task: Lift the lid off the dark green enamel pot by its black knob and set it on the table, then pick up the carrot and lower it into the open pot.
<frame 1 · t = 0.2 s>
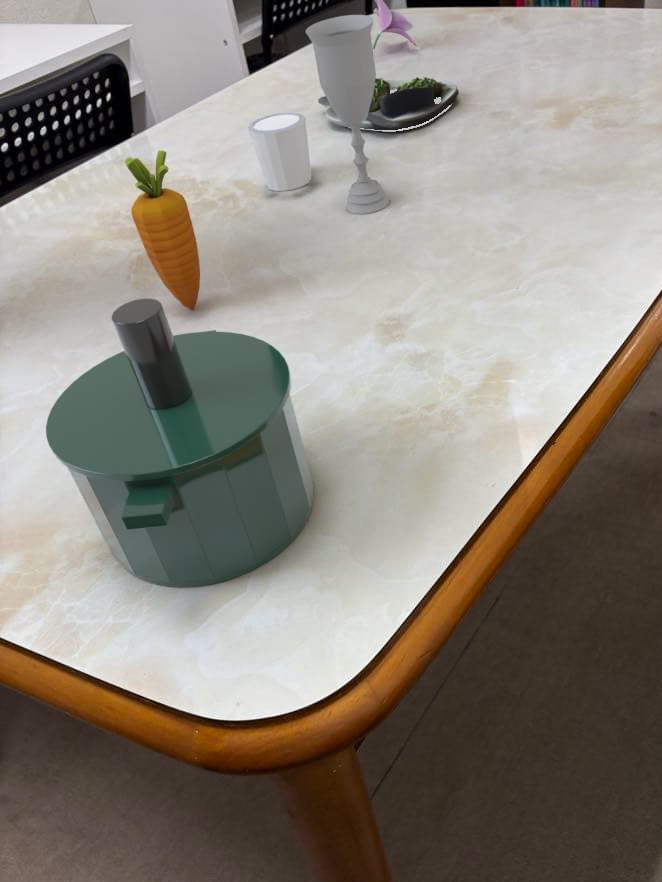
lily: (394, 53, 141), on the table
lid: (171, 402, 55), point 9 cm above the table, touching pot
carrot: (192, 310, 84), on the table
salad plate: (394, 115, 119), on the table
shot glass: (289, 183, 105), on the table
chalice: (367, 205, 97), on the table
pot: (212, 512, 61), on the table
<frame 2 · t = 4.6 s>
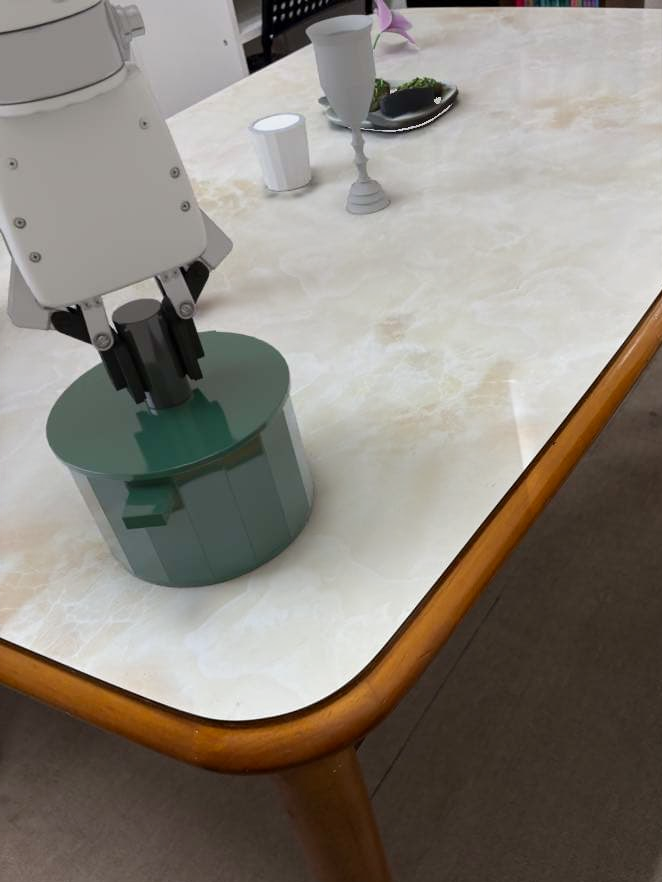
hand: (162, 379, 53), 11 cm above the table, tool pointing down, fingers closed on lid, 3 cm apart
lid: (171, 402, 55), point 10 cm above the table, touching gripper, pot
everything else where it was.
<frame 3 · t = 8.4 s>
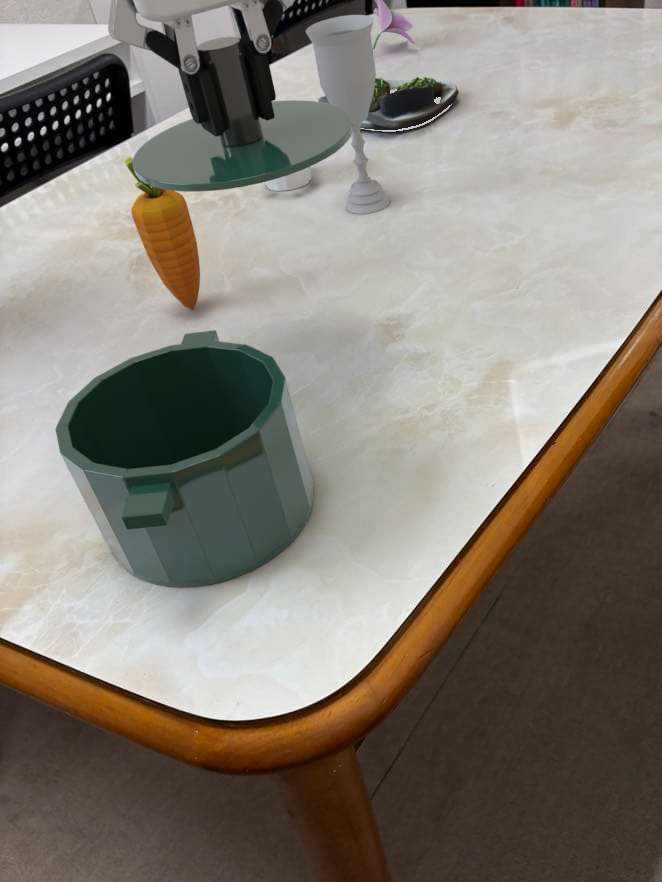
hand: (237, 120, 59), 20 cm above the table, tool pointing down, fingers closed on lid, 3 cm apart
lid: (243, 146, 60), point 19 cm above the table, touching gripper
everything else where it was.
when the fingers open (2 cm above the table, at t = 12.4 s): lid stays where it is, point 1 cm above the table.
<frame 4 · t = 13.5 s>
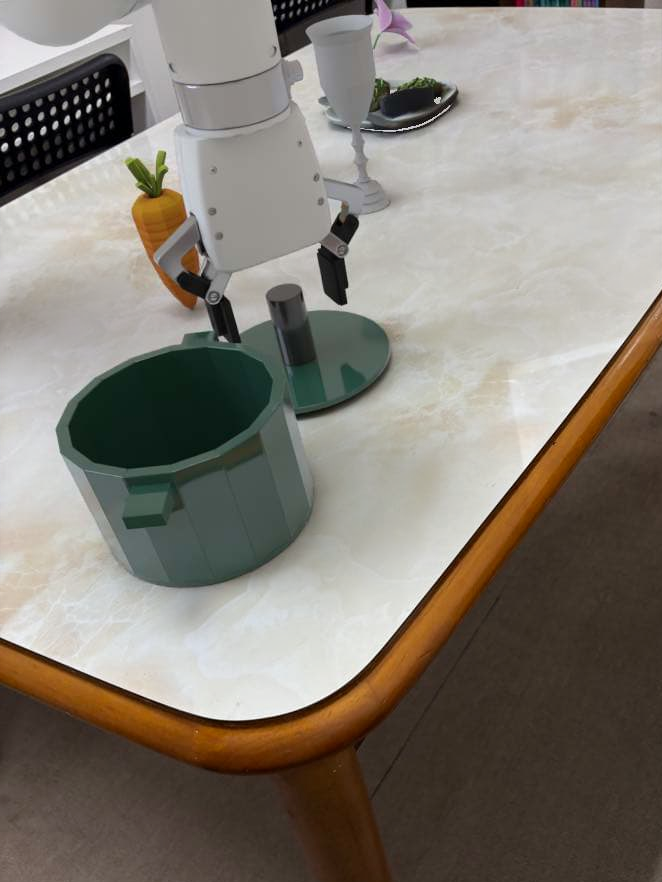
hand: (284, 319, 71), 5 cm above the table, tool pointing down, fingers open, 9 cm apart
lid: (300, 361, 73), point 1 cm above the table
everything else where it was.
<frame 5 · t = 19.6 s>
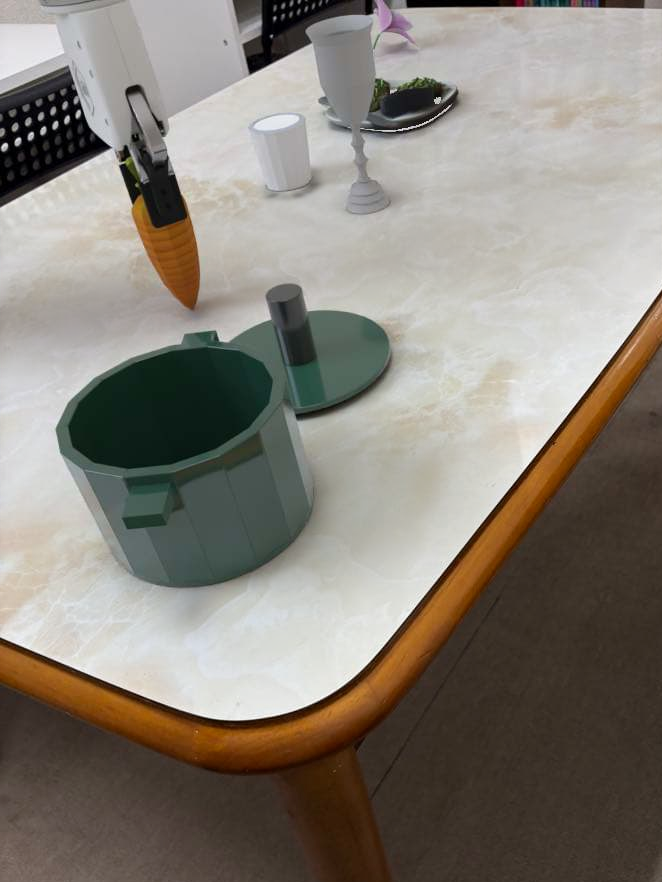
hand: (159, 211, 77), 10 cm above the table, tool pointing down, fingers closed on carrot, 4 cm apart
carrot: (192, 310, 84), on the table, touching gripper
everything else where it was.
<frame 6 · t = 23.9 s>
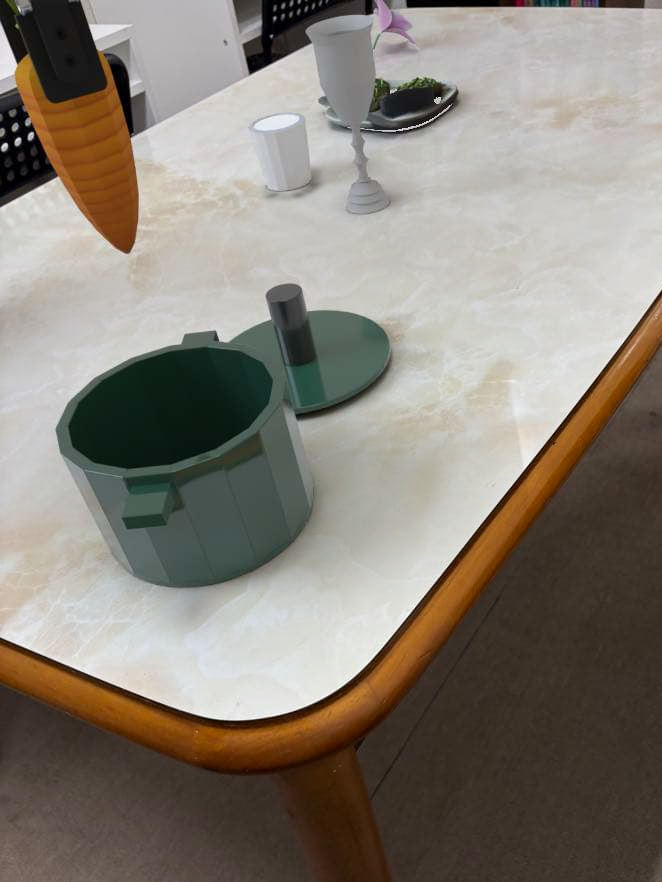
hand: (63, 80, 46), 27 cm above the table, tool pointing down, fingers closed on carrot, 4 cm apart
carrot: (129, 256, 53), point 17 cm above the table, touching gripper
everything else where it was.
when the fingers open (10 cm above the table, at t = 28.4 s): carrot stays where it is, resting on pot.
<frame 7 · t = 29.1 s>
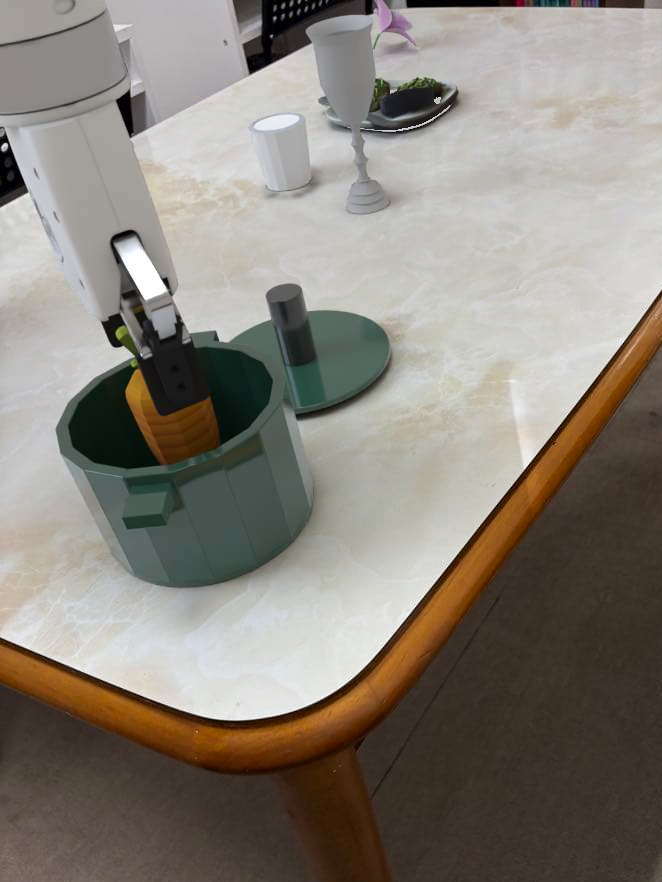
hand: (158, 370, 53), 12 cm above the table, tool pointing down, fingers open, 9 cm apart
carrot: (211, 508, 61), resting on pot
everything else where it was.
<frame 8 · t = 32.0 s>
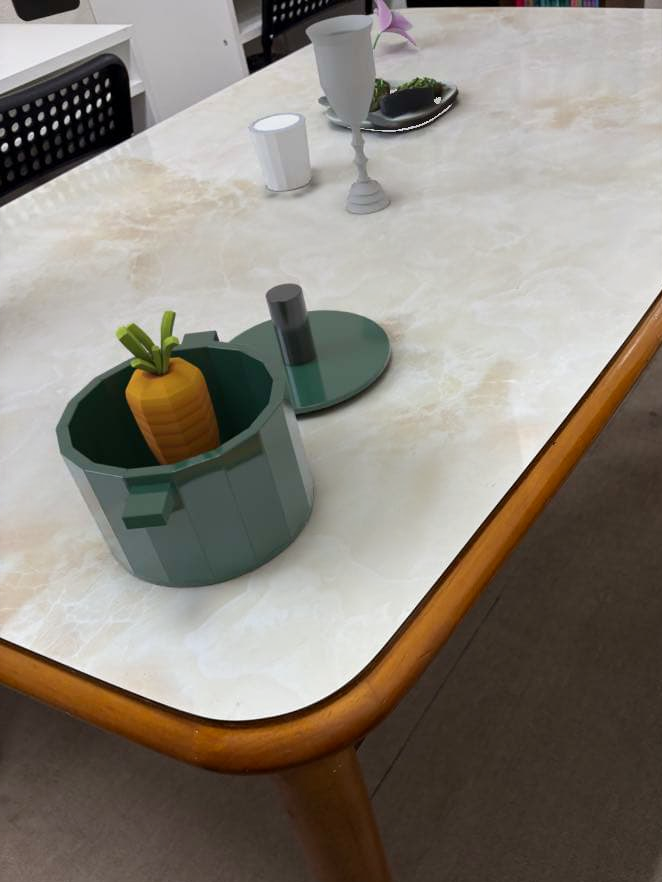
hand: (30, 2, 47), 30 cm above the table, tool pointing down, fingers open, 9 cm apart
nothing on the table moved.
at the end: carrot inside the target area in the pot (0.1 cm from its centre), point 0.3 cm above the pot's base; lid inside the target area (0.1 cm from its centre), point 0.6 cm above the table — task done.
